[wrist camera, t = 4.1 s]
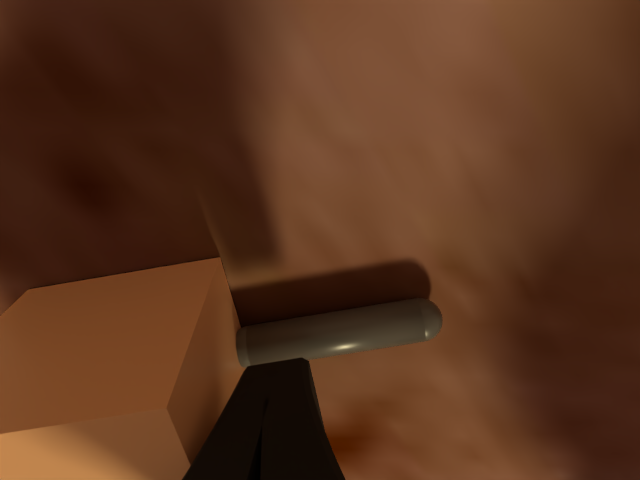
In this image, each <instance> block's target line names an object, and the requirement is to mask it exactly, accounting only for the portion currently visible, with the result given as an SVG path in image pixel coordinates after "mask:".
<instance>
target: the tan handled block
mask: <svg viewBox="0 0 640 480" xmlns="http://www.w3.org/2000/svg"><path fill="white" fill-rule="evenodd" d="M441 327H442V314H441V312H440V310H439V308H438V307H437V306H436V305H435V304H434V303H433V302H432V301H430V300H427V299H424V298H415V299H408V300H402V301H396V302H390V303H384V304H378V305H372V306H365V307H359V308H353V309H347V310H341V311H335V312H328V313H322V314H316V315H310V316H304V317H298V318H292V319H285V320H279V321H273V322H267V323H261V324H255V325H248V326H245V327H243V328H241V326H240V323H239V319H238V316H237V312H236V309H235V306H234V302H233V299H232V296H231V292H230V289H229V285H228V282H227V279H226V275H225V272H224V268H223V265H222V262H221V258H220V257H217V258H211V259H206V260H200V261H194V262H188V263H182V264H176V265H170V266H164V267H158V268H152V269H146V270H140V271H134V272H129V273H123V274H117V275H111V276H105V277H99V278H93V279H87V280H81V281H75V282H69V283H63V284H58V285H52V286H46V287H40V288H34V289H28V290H27V291H26V292H25V293H24V294H23V295H22V296H21V297H20V298H19V299H18V300H17V301H15V302H14V303H13V304H12V305H11V306H10V307H9V308H8V309H7V310H6V311H5V312H4V313H3V314H2V315H1V316H0V480H182V479H183V477H184V476H185V474H186V472H187V471H188V469H189V468H190V466H191V464H192V463H193V461H194V459H195V458H196V456H197V454H198V453H199V451H200V449H201V448H202V446H203V444H204V442H205V441H206V439H207V437H208V436H209V434H210V432H211V431H212V429H213V427H214V425H215V424H216V422H217V420H218V418H219V417H220V415H221V413H222V411H223V409H224V408H225V406H226V404H227V402H228V400H229V398H230V396H231V394H232V393H233V391H234V389H235V387H236V385H237V383H238V381H239V379H240V377H241V375H242V373H243V372H244V370H245V369H246V368H247V366H251V365H258V364H264V363H270V362H276V361H282V360H288V359H295V358H301V357H302V358H304V359H306V360H311V359H317V358H324V357H330V356H336V355H343V354H349V353H355V352H361V351H368V350H374V349H380V348H387V347H393V346H399V345H406V344H412V343H418V342H424V341H428V340H431V339H433V338H434V337H435V336H436V335H437V334H438V333H439V331H440V329H441Z"/></svg>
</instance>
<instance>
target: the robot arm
mask: <svg viewBox="0 0 640 480" xmlns="http://www.w3.org/2000/svg"><path fill="white" fill-rule="evenodd" d="M182 480H345V478H344V476H343V473H342V471H341V469H340V467H339V465H338V462H337V460H336V458H335V455H334V453H333V451H332V448H331V446H330V443H329V441H328V438H327V435H326V433H325V430H324V425H323V421H322V416H321V412H320V408H319V403H318V399H317V395H316V390H315V386H314V382H313V377H312V373H311V369H310V364H309V361H307V360H306V359H304V358H302V357H301V358H295V359H288V360H282V361H276V362H270V363H264V364H258V365H251V366H247V368H246V369H245V370H244V372H243V373H242V375H241V377H240V379H239V381H238V383H237V385H236V387H235V389H234V391H233V393H232V394H231V396H230V398H229V400H228V402H227V404H226V406H225V408H224V409H223V411H222V413H221V415H220V417H219V418H218V420H217V422H216V424H215V425H214V427H213V429H212V431H211V432H210V434H209V436H208V437H207V439H206V441H205V442H204V444H203V446H202V448H201V449H200V451H199V453H198V454H197V456H196V458H195V459H194V461H193V463H192V464H191V466H190V468H189V469H188V471H187V472H186V474H185V476H184V477H183V479H182Z"/></svg>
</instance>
